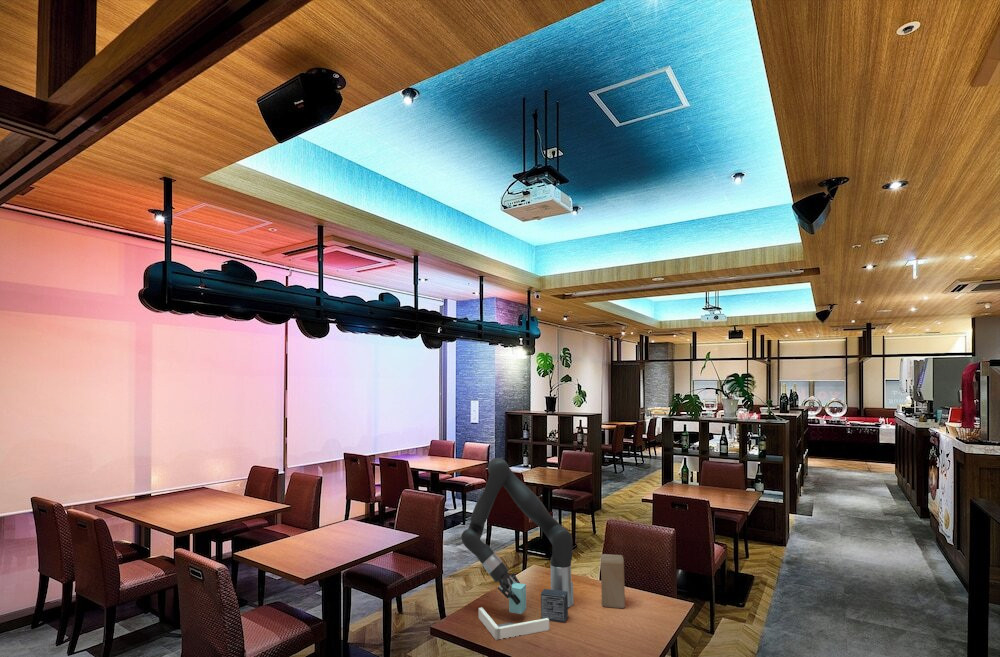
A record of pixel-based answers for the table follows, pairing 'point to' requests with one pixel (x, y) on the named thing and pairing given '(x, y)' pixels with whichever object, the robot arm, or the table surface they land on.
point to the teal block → (521, 594)
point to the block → (612, 581)
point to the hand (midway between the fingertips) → (521, 600)
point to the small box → (554, 605)
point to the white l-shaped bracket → (512, 626)
